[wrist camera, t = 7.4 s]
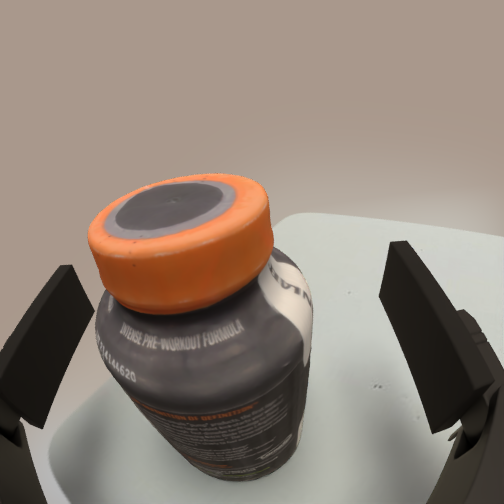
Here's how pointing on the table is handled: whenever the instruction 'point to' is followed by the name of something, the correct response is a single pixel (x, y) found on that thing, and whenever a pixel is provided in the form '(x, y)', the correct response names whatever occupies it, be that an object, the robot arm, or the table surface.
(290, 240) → the table surface
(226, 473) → the pill bottle
